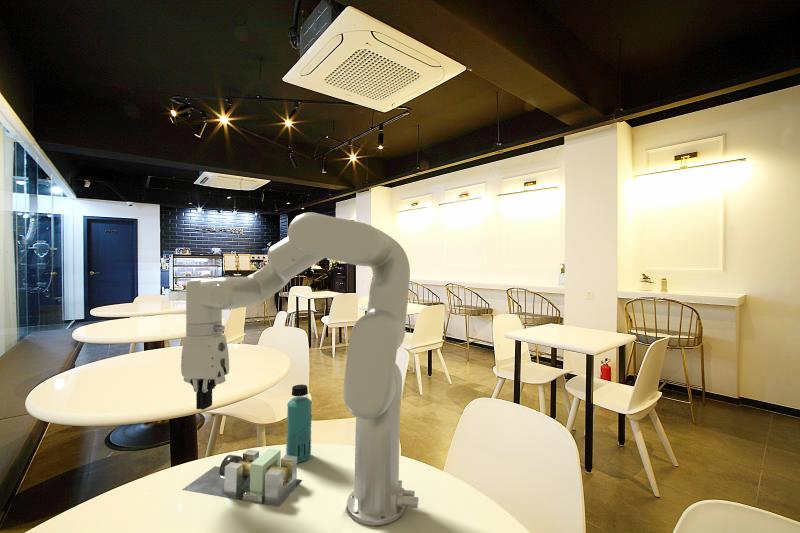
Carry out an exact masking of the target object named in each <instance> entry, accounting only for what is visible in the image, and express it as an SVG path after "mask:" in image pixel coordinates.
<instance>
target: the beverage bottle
mask: <svg viewBox="0 0 800 533" xmlns="http://www.w3.org/2000/svg"><path fill="white" fill-rule="evenodd" d="M308 393H309V391H308V386H307V384H296V385H293V386H292V389H291V395H292V396H293V398H291V399H290V400H289V401H288V402H287V413H286V414H287V417H286V419H287V421H286V441H285V442H286V447H285V455H290V456H297V464H298V463H303V462H305V461H308V460H309V459H310V457H311V453H312V418H313V416H312V412H313V411H312V403H313V402H312V401H311V399H310V398H308V397H307V395H308Z"/></svg>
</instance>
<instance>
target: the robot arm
mask: <svg viewBox="0 0 800 533" xmlns="http://www.w3.org/2000/svg"><path fill="white" fill-rule="evenodd" d="M267 258H268V259H267V260H268V262H267V264H266V265H264V266H262V268H260V269H258V270H257V271H255V272H253V273H252V274H250V275H248V276H221V277H216V278H207V277H205V278H192V279H189V280H188V281H187V282H186V284H185V286H186V287H185V306H186V307H185V336H184V337H183V338H184V339H183V343H182V349H181V360H180V372H181V375H182V378H183V382H185V383H187V384H190V385H191V386H192V388H193V392H195V393H196V394H195V396H196V398H195V399H196V405H195V406H196V407H195V408H196V410H203V411H204V410H206V409H208V408H210V407H211V406H213V390H214V389H215V388H216V387H217V385H221V384H223V383H225V382H226V375H228V374H230V358H229V356H230V355H229V347H228V346H229V345H228V341H227V338H226V334H223V332H224V331H225V329H226V326H225V325H223V310H224V311H225V310H226V311H227V310H235V309H240V308H247V307H253V306H256V305H258V304H260V303H262V302H263V301H265V300H267V299H268V298H270V297H271V296H274V295H275V294H276V293H278V292H279V291H281V290H282V289H283V288H285V286H287V284H288V283H289V282H290V281H291V279H293V278H295V277H296V276H297V275H299V274H301V273H302V272H304V271H305V270H307V269H308V268H311V267H313V266H314V265H316V264H317V263H319V262H320V261H322V260H324V259H329V260H331V261H332V260H333V261H337V262H341V263H344V264H349V265H354V266H361V267H362V266H363V267H369V268H370V269H371V271H372V276H371V277H372V278H371V283H370V284H369V292H368V294H369V295H368V304H367V309H366V313H365V314H364V315H363V316H361V317H360V318H358V319H357V320H356V322H355V323H354V325H353V327H352V329H351V332H350V334H349V338H348V347H347V353H346V354H347V355H346V361H345V362H346V363H345V372H344V380H343V390H342V391H343V393H342V394H343V399H344V403H345V404H344V405H346V408H347V409H348V411H349V412H350V413H351V414H352V415H353V416H354V417H355V437H354V438H355V439H354V440H355V444H354V445H355V446H354V447H355V448H354V450H355V451H354V490H353V491H352V492H351V493H350V494H349V495H348V497H347V501H346V511H347V513H348V515H349V516H350V517H351V519H352V520H354V521H355V522H357V523H359V524H363V525H367V526H383V525H388V524H391V523H393V522H395V521H396V520H398V519H399V518H400V517H401V516H402V515H403V514H404V512H405V510H406V507H408V508H412V509H413V508H414V509H418V508H419V497H417V496H415V495H416V492H415V490H410V489H409V490H408V489H405V488H404V487H403V480H400V476H399V475H400V474H399V473H400V433H401V432H400V431H401V427H400V426H401V423H400V422H401V404H402V393H403V392H402V391H403V377H402V376H403V375H402V372H401V370H400V368H399V366H398V364H397V363H396V362H397V361H396V360H397V355H398V354H397V353H398V349H399V348H400V347H401V345H402V344H403V342H404V339H405V335H406V322H407V312H408V303H409V302H408V301H409V290H410V281H411V280H410V279H411V278H410V277H411V269H410V268H411V267H410V261H409V259H408V258H409V257H408V255H407V252H406V251H405V250H404V248H403V246H401V244H400V243H399V242H398V241H396V240H395V239H394V238H393V237H392V236H390V235H388V234H387V233H385V232H384V231H383V230H381V229H378V228H376V227H374V226H372V225H370V224H368V223H366V222H361V221H355V220H349V219H346V218H341V217H336V216H330V215H326V214H321V213H317V212H312V211H311V212H303V213H301V214H299V215H296V216H295V217H294V218H293V219H292V221H291V222H290V223H289V226H288V230H287V237H285V238H283V239H281V240H280V241H278V242H277V243H275V244H273V245H272V246H270V247H269V249H268V250H267Z"/></svg>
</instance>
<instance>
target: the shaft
mask: <svg viewBox="0 0 800 533" xmlns="http://www.w3.org/2000/svg"><path fill="white" fill-rule="evenodd" d="M231 462H233V463H239V464H243V475H242V477H247V478H250V465H251V463H252V462H245V461H243V456H241V455H235V454H228V455H226V456H225V457H224V458H223V460H222V461H221V463H220V465H219V467H220V470H219V475H220V477H221V478H224V479H225V466H227V465H228V464H229V463H231ZM271 468H272V469H279V470H283V483H285V481H286V480H287V477H288V473H289V471H288V468H285V467H281V466H280V467H278V466H272V465H270V466H269V467H267V468H266V472H267V471H268V470H269V469H271Z"/></svg>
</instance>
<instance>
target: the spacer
mask: <svg viewBox="0 0 800 533" xmlns="http://www.w3.org/2000/svg"><path fill="white" fill-rule="evenodd" d="M281 453H282V452H281V449H275V448H268V449H266V451H265V452H263V453H262V454H261V455H259V457H258V458H257V459H256V460H255V461H253V462H252V463H251V465H250V492H254V493H259V494H264V496H265V473H266V468H267V467H269V466H270V465H272V466H278V467H281V455H282V454H281Z"/></svg>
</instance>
